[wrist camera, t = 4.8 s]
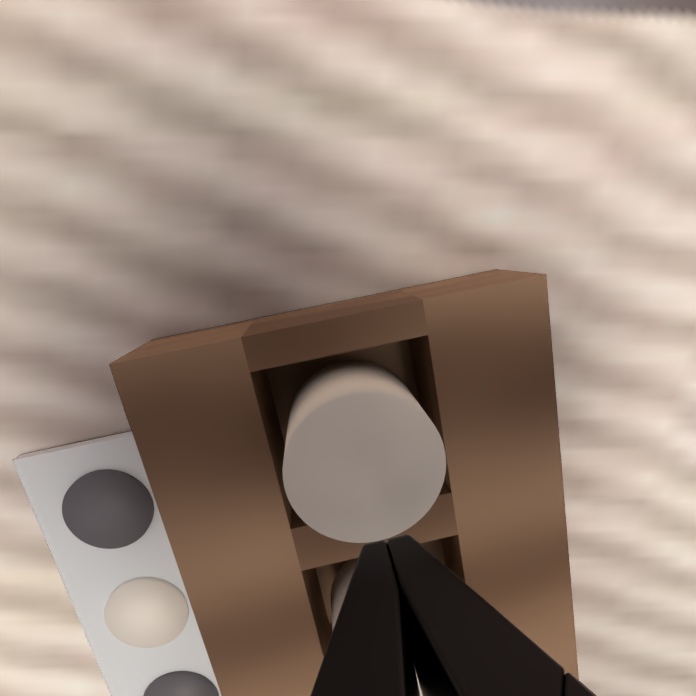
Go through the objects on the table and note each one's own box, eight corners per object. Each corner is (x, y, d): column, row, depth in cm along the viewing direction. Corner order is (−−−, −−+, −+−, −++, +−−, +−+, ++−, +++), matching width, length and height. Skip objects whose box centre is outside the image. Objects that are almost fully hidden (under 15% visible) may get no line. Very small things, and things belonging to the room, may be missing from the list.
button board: (543, 703, 19) (587, 789, 16) (285, 768, 19) (281, 870, 16) (496, 269, 15) (545, 274, 12) (152, 339, 14) (109, 364, 11)
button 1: (424, 465, 14) (455, 522, 11) (303, 492, 14) (302, 558, 11) (405, 348, 13) (433, 376, 10) (274, 375, 13) (264, 412, 10)
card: (258, 721, 18) (257, 736, 18) (142, 750, 18) (136, 766, 17) (163, 424, 15) (157, 431, 14) (19, 454, 15) (8, 463, 14)
